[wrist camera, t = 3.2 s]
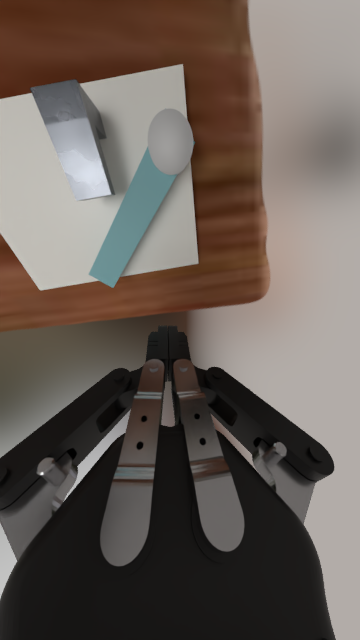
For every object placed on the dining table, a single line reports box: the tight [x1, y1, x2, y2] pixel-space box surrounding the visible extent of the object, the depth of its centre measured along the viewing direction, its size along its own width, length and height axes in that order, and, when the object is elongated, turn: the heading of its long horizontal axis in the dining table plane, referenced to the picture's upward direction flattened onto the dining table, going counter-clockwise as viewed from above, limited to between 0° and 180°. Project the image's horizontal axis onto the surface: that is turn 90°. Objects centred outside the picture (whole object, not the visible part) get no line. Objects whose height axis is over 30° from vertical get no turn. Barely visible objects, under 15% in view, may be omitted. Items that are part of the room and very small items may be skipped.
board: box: [0, 64, 199, 290], centre depth 19 cm, size 22×16×2 cm
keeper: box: [30, 79, 115, 201], centre depth 14 cm, size 3×6×5 cm, turn 8°
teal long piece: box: [89, 108, 195, 288], centre depth 17 cm, size 16×4×4 cm, turn 143°
